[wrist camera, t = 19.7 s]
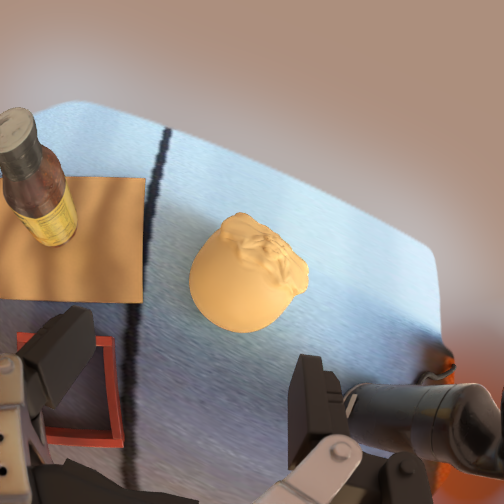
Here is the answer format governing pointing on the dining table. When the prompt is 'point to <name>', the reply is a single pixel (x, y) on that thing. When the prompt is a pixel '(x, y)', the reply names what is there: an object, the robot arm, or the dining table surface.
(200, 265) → the tan rounded lump
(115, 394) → the holder
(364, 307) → the dining table surface
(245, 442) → the dining table surface
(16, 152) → the sauce bottle
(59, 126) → the dining table surface
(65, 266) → the mat
